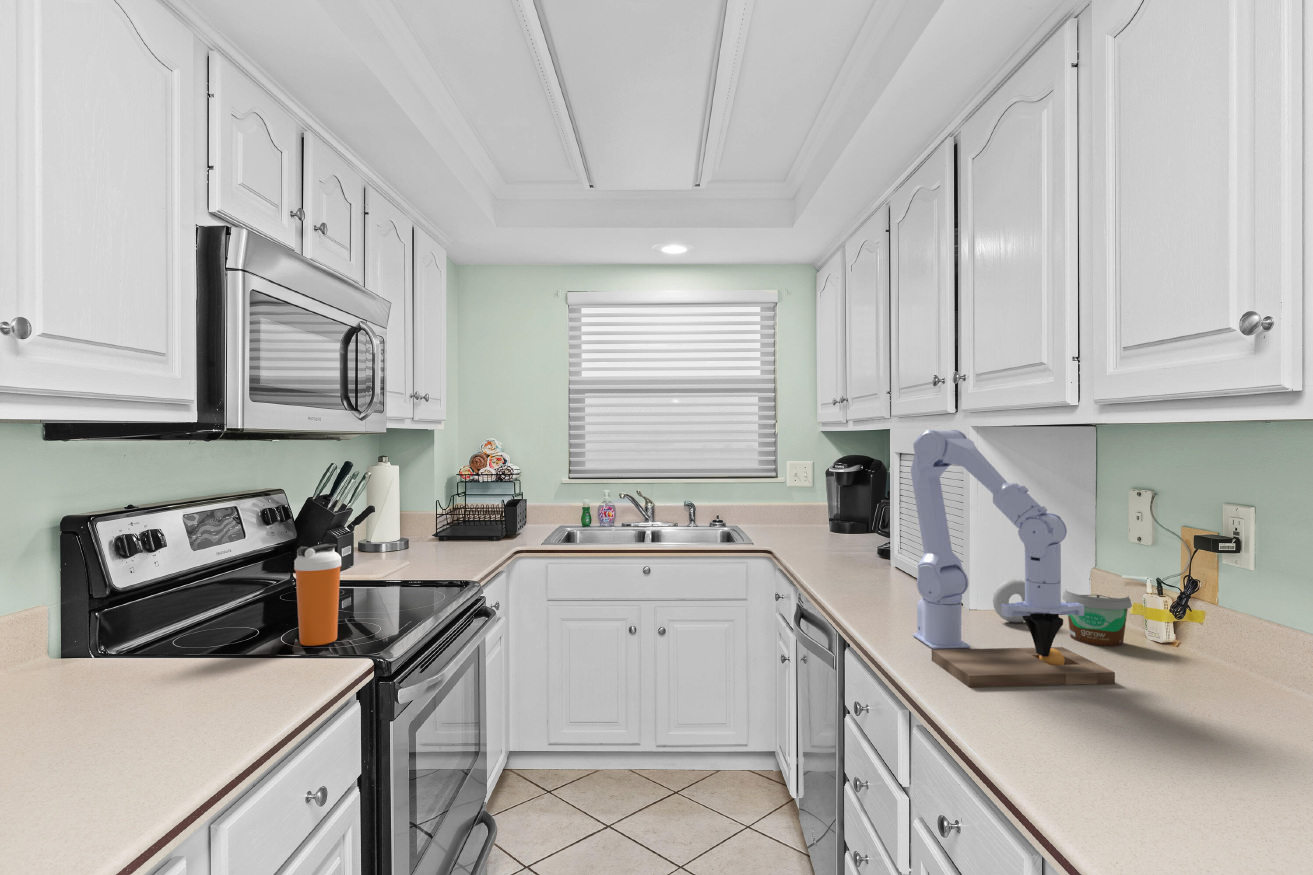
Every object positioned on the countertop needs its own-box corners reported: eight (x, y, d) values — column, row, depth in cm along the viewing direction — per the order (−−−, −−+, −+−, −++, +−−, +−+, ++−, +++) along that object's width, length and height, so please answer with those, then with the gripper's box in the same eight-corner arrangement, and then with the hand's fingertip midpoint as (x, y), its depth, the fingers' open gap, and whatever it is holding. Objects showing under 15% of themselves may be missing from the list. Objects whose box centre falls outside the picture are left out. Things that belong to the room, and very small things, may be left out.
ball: (1032, 663, 127) (1038, 643, 128) (1052, 671, 127) (1058, 650, 128) (1045, 668, 123) (1050, 647, 124) (1066, 676, 123) (1071, 654, 124)
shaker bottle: (350, 638, 145) (350, 544, 145) (310, 649, 138) (309, 550, 137) (326, 632, 150) (325, 541, 150) (285, 642, 142) (285, 547, 142)
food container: (1063, 643, 141) (1064, 594, 141) (1062, 635, 147) (1062, 588, 147) (1136, 652, 135) (1136, 601, 135) (1131, 643, 141) (1131, 595, 141)
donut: (996, 624, 155) (997, 580, 155) (989, 620, 158) (989, 577, 158) (1041, 624, 155) (1041, 580, 155) (1032, 620, 158) (1033, 577, 158)
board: (931, 659, 131) (931, 649, 131) (1062, 657, 132) (1062, 646, 132) (969, 687, 117) (969, 675, 117) (1114, 683, 118) (1114, 672, 118)
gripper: (1017, 585, 120) (1017, 662, 120) (1096, 584, 121) (1096, 661, 121) (994, 577, 127) (994, 650, 127) (1069, 576, 128) (1069, 648, 128)
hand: (1042, 654), depth 125 cm, fingers closed
